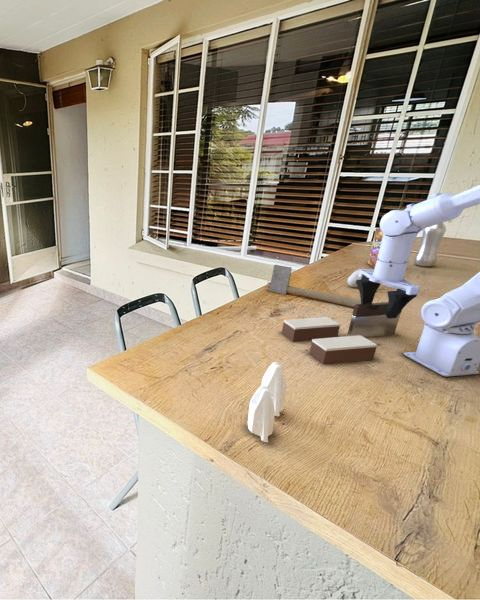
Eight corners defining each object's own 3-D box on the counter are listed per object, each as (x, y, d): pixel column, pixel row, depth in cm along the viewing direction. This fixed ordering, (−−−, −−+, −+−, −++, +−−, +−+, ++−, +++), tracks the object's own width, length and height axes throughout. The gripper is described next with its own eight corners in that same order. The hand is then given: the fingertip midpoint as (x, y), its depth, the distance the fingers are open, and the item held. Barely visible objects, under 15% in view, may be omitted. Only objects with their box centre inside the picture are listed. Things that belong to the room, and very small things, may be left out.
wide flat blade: (394, 334, 91) (404, 302, 88) (350, 338, 91) (358, 306, 87) (390, 332, 92) (399, 301, 89) (346, 336, 92) (354, 304, 88)
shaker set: (262, 399, 70) (270, 350, 66) (285, 407, 67) (295, 357, 63) (242, 432, 62) (249, 380, 58) (267, 443, 59) (277, 389, 55)
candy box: (366, 263, 148) (375, 227, 143) (378, 264, 147) (388, 227, 141) (374, 269, 140) (384, 231, 135) (387, 269, 139) (398, 231, 134)
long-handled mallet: (368, 312, 104) (265, 290, 126) (370, 310, 106) (267, 288, 127) (377, 282, 101) (269, 264, 122) (379, 281, 102) (271, 263, 123)
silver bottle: (418, 267, 139) (434, 217, 132) (409, 263, 145) (423, 214, 138) (438, 268, 138) (455, 216, 130) (428, 263, 144) (444, 214, 136)
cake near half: (373, 359, 81) (377, 344, 79) (323, 364, 80) (326, 348, 79) (356, 349, 85) (360, 335, 84) (309, 353, 85) (312, 339, 83)
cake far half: (337, 337, 91) (340, 324, 90) (292, 341, 91) (295, 327, 89) (324, 329, 96) (327, 316, 94) (281, 333, 95) (283, 319, 94)
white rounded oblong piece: (375, 279, 129) (351, 294, 124) (361, 267, 131) (338, 281, 126) (389, 270, 124) (366, 285, 118) (376, 257, 126) (352, 271, 121)
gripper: (352, 254, 91) (341, 302, 96) (404, 269, 78) (388, 324, 82) (378, 252, 91) (365, 300, 96) (434, 267, 78) (416, 322, 83)
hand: (378, 311), depth 89 cm, fingers open, 7 cm apart
